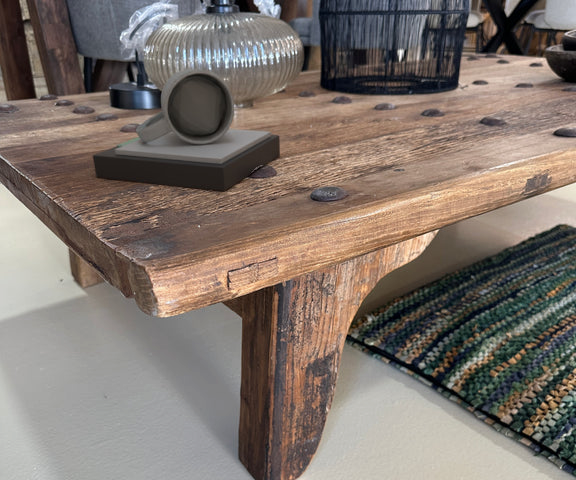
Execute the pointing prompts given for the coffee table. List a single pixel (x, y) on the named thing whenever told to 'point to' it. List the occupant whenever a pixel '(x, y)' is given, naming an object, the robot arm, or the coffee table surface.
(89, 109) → the coffee table surface
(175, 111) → the ceramic mug
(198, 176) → the scale
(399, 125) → the coffee table surface
